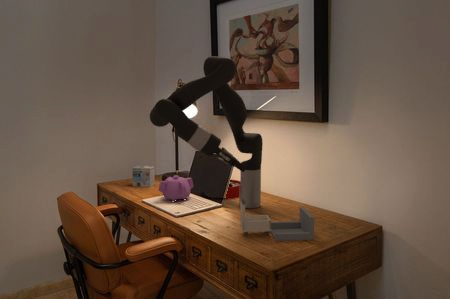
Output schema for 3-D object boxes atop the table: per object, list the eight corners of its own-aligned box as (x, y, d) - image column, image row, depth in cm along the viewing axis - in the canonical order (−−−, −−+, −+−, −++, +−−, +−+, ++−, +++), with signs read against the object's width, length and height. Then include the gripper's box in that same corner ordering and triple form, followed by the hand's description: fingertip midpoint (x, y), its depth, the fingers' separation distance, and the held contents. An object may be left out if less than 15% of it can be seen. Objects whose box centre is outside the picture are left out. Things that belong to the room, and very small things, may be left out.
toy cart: (239, 229, 147) (240, 196, 146) (267, 228, 148) (267, 195, 146) (242, 236, 140) (242, 201, 139) (270, 235, 141) (271, 200, 140)
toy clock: (195, 183, 204) (224, 177, 217) (195, 194, 205) (224, 188, 218) (221, 189, 189) (250, 183, 203) (221, 201, 190) (250, 194, 203)
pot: (167, 206, 182) (166, 181, 180) (152, 198, 196) (151, 174, 195) (201, 200, 192) (201, 176, 190) (184, 193, 206) (184, 170, 205)
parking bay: (268, 228, 152) (268, 207, 150) (303, 227, 153) (303, 206, 152) (275, 240, 138) (275, 218, 137) (313, 239, 139) (314, 217, 138)
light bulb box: (132, 186, 221) (131, 167, 220) (137, 184, 228) (136, 165, 226) (150, 187, 219) (150, 168, 218) (155, 184, 226) (154, 165, 225)
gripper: (212, 134, 127) (255, 164, 131) (208, 130, 140) (247, 157, 144) (199, 153, 128) (242, 182, 131) (196, 147, 141) (235, 174, 144)
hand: (244, 169), depth 138 cm, fingers closed
